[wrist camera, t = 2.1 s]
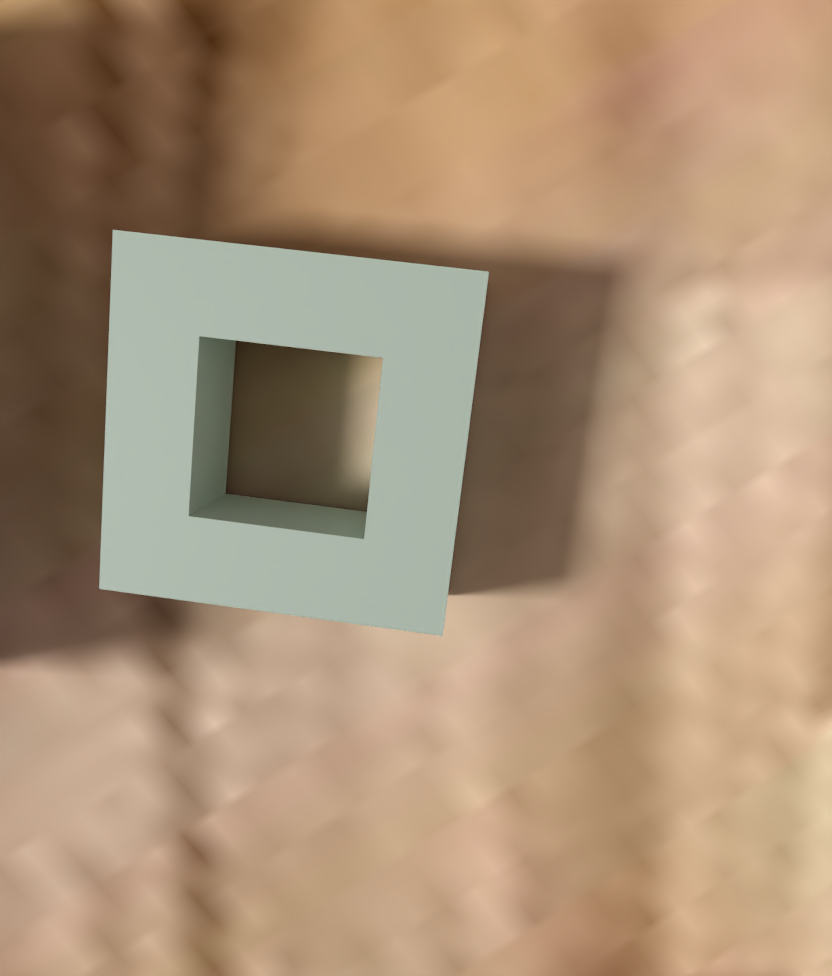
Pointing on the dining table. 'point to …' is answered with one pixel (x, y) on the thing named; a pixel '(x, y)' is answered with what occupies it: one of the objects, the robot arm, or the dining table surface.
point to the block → (207, 416)
